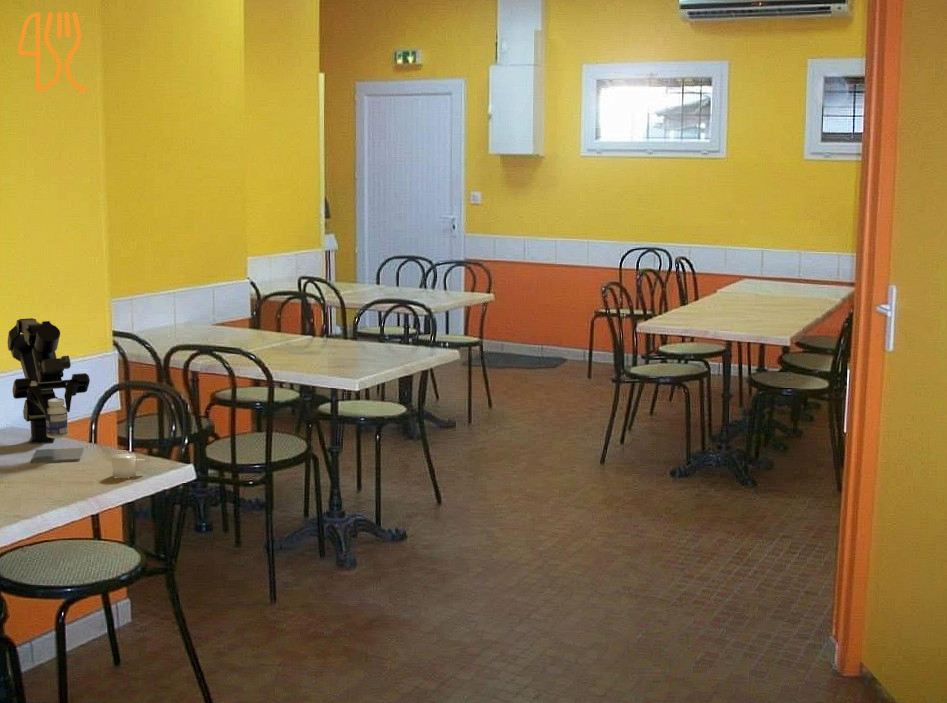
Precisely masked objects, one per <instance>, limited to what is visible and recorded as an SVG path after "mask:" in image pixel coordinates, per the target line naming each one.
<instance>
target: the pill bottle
mask: <svg viewBox="0 0 947 703" xmlns="http://www.w3.org/2000/svg"><path fill="white" fill-rule="evenodd" d="M64 405H65V398H54V399H49V400H48V406H49V407H48V408H47V414H46V433H47V437H49V438H55V439H63V438H66V437H68V436H69V422H68V411H67V408H66V406H64Z"/></svg>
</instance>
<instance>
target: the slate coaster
mask: <svg viewBox="0 0 947 703" xmlns="http://www.w3.org/2000/svg"><path fill="white" fill-rule="evenodd" d="M83 453H84V447H69V448H50V449H49V448H46V449H36V450H35V452H34V453H33V455H32V457H31V459H30V464H42V463H43V462H44V463H45V464H46V463H47V464H48V463H62V462H63V463H66V462H65V461H69V462H80V461H81V459H82V456H83Z"/></svg>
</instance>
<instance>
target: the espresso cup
mask: <svg viewBox="0 0 947 703" xmlns="http://www.w3.org/2000/svg"><path fill="white" fill-rule="evenodd" d="M111 467H112V468H111V470H112V471H111V472H112V478H113V477H117V478H128V477H133V478H135V477H137V472H146V459H145V458H137V459H136V454H133V453H117V454H113V455H112V456H111ZM134 476H135V477H134ZM128 479H129V478H128Z"/></svg>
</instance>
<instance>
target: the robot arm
mask: <svg viewBox="0 0 947 703" xmlns="http://www.w3.org/2000/svg"><path fill="white" fill-rule="evenodd" d="M60 337H61V330H60V329H59V328H58V326H56V325H54V324H52V323H51V320H48V321H47V320H45V321H44V320H43V321H42V322H41V323H40V322H39V321H37V319H36V318H33V317H31V318H28V317H27V318H19V319H17V320H16V324H15V325H14V327H12V328H11V329H10V330H9V331H8V335H7V348H8V351H10V353H11V356H12V358H13V359H15V360H17V361H18V362H20V365H21V369H22V372H23V375H24V377H23V378H16V379H15V380H14V381H13V386H12V396H13V399H15V400H16V399H17V400H19V399H25V400H24V404H23V405H24V406H23V408H22V409H23V410H22V413H23V420H25V421H26V422H27V423H29V422H30V438H29V440H28V444H39V443H41V442H46V443H54V442H55V440H56V438H49V437H47V433H46V414H47V408H48V407H49V406H48V400H49V399H54V398H58V396H56V393H55V391H54V390H55V389H56V390H57V389H58V390H59V389H65V391H64V395H63V396H64V404H65V407H66V408H67V413H70V411H71V404H72V397H73V396H74V397H75V396H76V395H77V394H81V393H82V394H83V393H84V394H85V393H86V392H88V388H89V385H90V382H91V379H90V375H88V374H87V373H85V372H84V373H72V376H71V378H70V379H64V380H63V379H62V378H64V371H65V370H69V369H70V368H71V366H72V364H71V359H70V356H69V355H63V356H62V355H61V357H59V358H57V354H56V351H57V349H58V346H59V341H60ZM41 444H42V443H41Z"/></svg>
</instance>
